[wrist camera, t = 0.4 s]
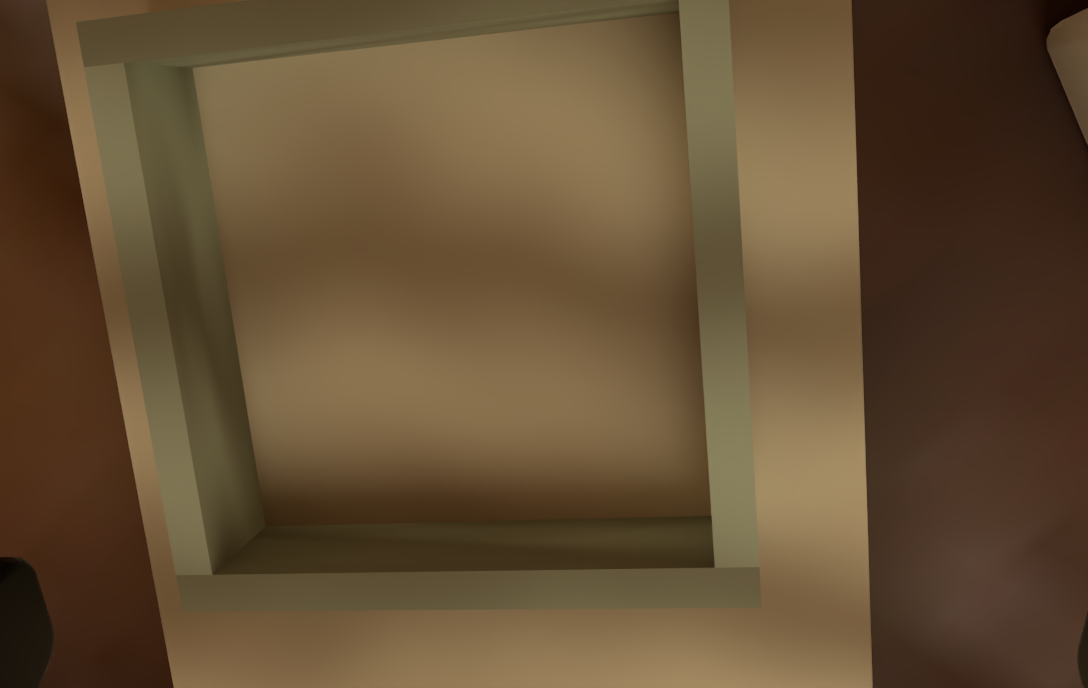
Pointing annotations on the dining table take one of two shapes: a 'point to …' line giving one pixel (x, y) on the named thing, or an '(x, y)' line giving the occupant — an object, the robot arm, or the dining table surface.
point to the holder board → (485, 335)
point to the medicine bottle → (1072, 62)
